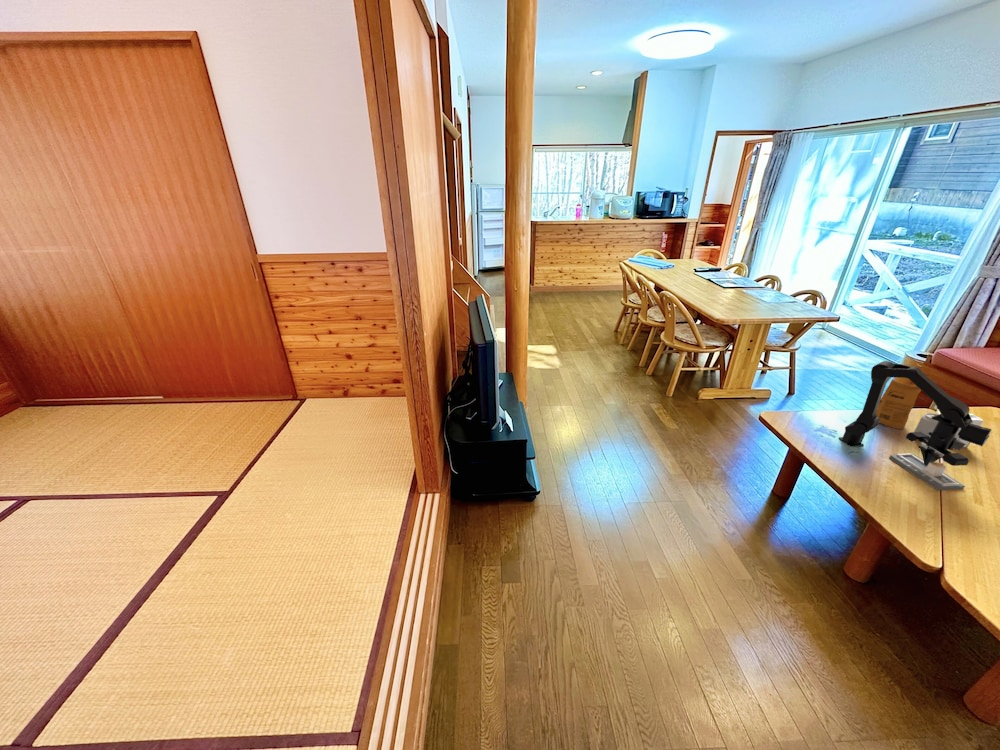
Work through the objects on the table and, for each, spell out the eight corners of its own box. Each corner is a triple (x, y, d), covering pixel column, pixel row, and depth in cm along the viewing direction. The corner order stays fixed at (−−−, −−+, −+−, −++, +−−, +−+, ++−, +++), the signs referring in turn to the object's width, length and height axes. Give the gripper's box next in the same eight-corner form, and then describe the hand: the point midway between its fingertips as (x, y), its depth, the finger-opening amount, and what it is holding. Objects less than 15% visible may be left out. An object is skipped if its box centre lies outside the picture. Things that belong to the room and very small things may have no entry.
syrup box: (955, 440, 178) (971, 412, 172) (968, 448, 173) (984, 420, 167) (941, 439, 179) (956, 412, 172) (953, 447, 174) (969, 419, 167)
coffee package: (872, 413, 200) (889, 374, 190) (905, 423, 191) (925, 383, 182) (868, 421, 194) (885, 381, 185) (902, 431, 186) (922, 390, 176)
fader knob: (931, 476, 155) (937, 466, 153) (924, 471, 158) (929, 461, 156) (941, 476, 156) (947, 466, 153) (933, 471, 158) (939, 461, 156)
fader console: (937, 490, 151) (940, 485, 150) (889, 457, 169) (891, 453, 168) (963, 489, 151) (966, 484, 150) (912, 456, 169) (914, 452, 168)
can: (939, 444, 176) (952, 421, 171) (919, 442, 178) (931, 419, 172) (927, 434, 183) (938, 412, 178) (908, 433, 184) (919, 411, 179)
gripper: (992, 446, 144) (971, 479, 151) (939, 418, 161) (922, 450, 168) (962, 447, 144) (943, 481, 151) (912, 420, 161) (897, 451, 167)
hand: (926, 465), depth 159 cm, fingers closed
